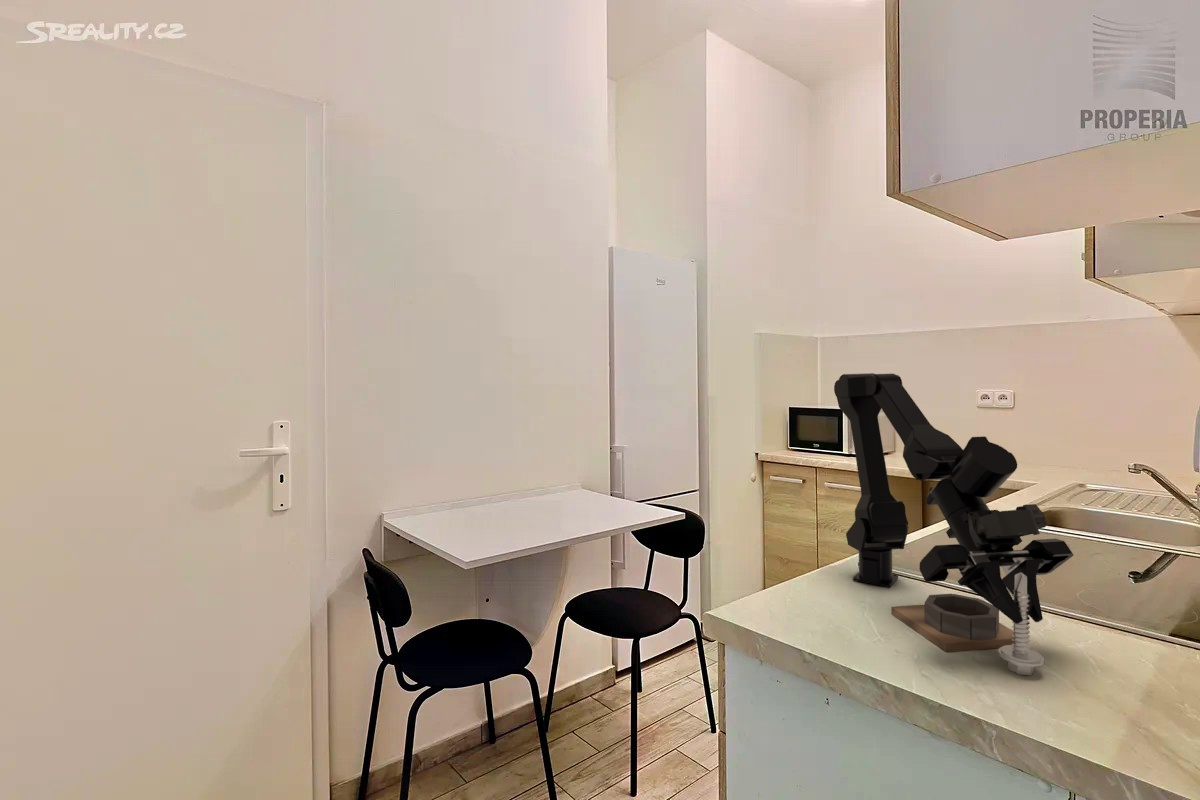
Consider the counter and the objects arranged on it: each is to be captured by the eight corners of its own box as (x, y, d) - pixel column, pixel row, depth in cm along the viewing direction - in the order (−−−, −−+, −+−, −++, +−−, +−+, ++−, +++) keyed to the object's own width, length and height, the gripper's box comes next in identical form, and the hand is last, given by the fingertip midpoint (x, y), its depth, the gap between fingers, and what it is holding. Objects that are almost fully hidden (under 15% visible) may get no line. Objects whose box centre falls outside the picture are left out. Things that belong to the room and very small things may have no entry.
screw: (993, 659, 79) (1035, 664, 77) (1005, 677, 74) (1050, 682, 73) (993, 564, 78) (1036, 567, 77) (1005, 577, 74) (1050, 580, 72)
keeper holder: (891, 613, 94) (891, 588, 94) (961, 609, 95) (961, 583, 95) (945, 651, 81) (945, 622, 81) (1026, 645, 82) (1026, 616, 82)
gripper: (932, 486, 78) (994, 599, 67) (1061, 480, 79) (1142, 589, 69) (897, 529, 86) (948, 635, 75) (1015, 522, 88) (1081, 626, 77)
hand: (1029, 621), depth 74 cm, fingers closed
